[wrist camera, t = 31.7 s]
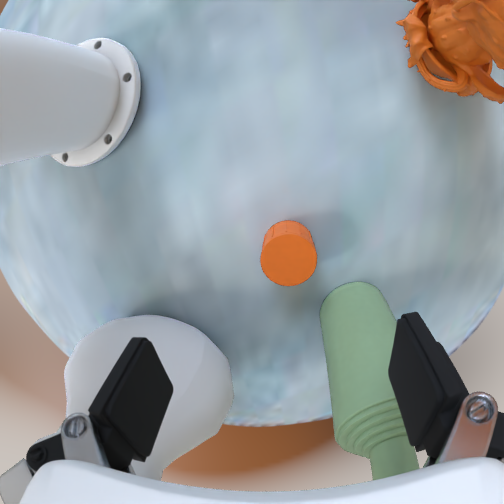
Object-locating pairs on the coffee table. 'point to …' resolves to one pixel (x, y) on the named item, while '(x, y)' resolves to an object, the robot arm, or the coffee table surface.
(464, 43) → the orange sculpture
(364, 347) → the bottle
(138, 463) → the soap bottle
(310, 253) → the cap
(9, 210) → the coffee table surface
